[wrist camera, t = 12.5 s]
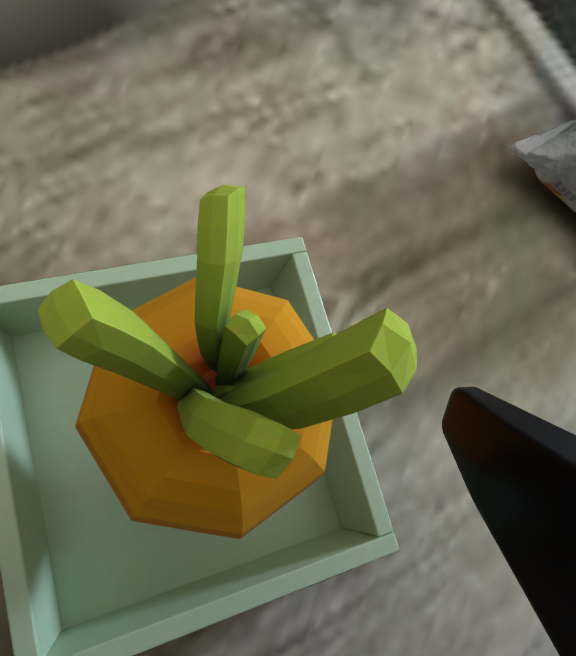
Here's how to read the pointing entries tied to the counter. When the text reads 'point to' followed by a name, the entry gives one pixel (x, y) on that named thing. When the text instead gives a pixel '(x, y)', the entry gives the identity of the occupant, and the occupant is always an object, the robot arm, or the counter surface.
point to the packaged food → (553, 159)
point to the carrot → (217, 386)
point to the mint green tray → (141, 538)
